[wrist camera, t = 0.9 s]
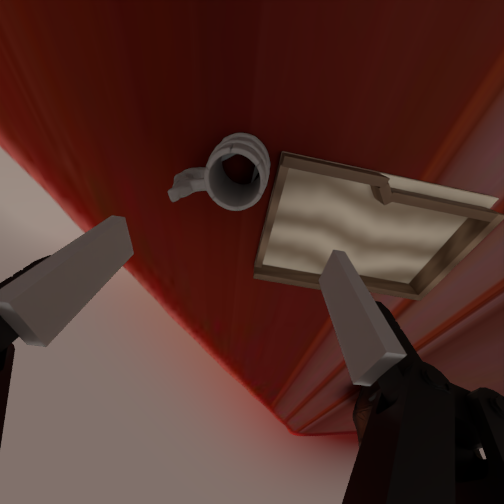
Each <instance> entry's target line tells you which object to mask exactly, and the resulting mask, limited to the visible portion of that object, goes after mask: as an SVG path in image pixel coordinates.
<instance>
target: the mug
mask: <svg viewBox="0 0 504 504" xmlns="http://www.w3.org/2000/svg"><path fill="white" fill-rule="evenodd" d="M235 154H241V155H243V156H245V157H247V158H249V159H250V160H251V161H252V162H253V163H254V164H255V169H254V173H253V177H252V181H251V183H249V184H238V183H235V182H233V181H232V180H231V179H229V177H228V176H226V173H225V172H224V169H223V166H222V161H224V160H226V159H228V158H230V157H231V156H233V155H235ZM258 172H259V175H260V176H259V177H258V178H257V179H256V180H255V181H254V179H255V177H256V175H257V174H258ZM269 174H270V159H269V154H268V152H267V149H266V148H265V146H264V144H263V143H262V142H261V141H260V140H259V139H258V138H257V137H255V136H253V135H251V134H247V133H235V134H231V135H229V136H228V137H225V138H224V139H223V140H222V141H221V143H220V144H218V145H217V146H216V147H215V149H214V151H213V152H212V154H211V155H210V157H209V160H208V162H207V164H206V167H198V168H189V169H186V170H184V171H183V172H182V173H179V174H177V175H176V176H175V177H174V184H173V188H171V189H169V190H168V195H169V197H170V200H171V201H172V202H175V201H177V200H179V198H182V197H186V196H188V195H190V194H191V193H193V192H196V191H206V190H207V192H208V194H209V195H210V197H211V198H212V200H213V201H215V202H216V203H217V204H218V205H220V206H221V207H223V208H225V209H228V210H232V211H238V210H239V211H241V210H244V209H247V208H249V207H251V206H253V205H254V204H256V203H257V202H258V201H259V199H260V198H261V196H262V194H263V192H264V190H265V188H266V185H267V182H268V178H269ZM253 181H254V182H253Z"/></svg>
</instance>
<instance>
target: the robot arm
mask: <svg viewBox="0 0 504 504" xmlns="http://www.w3.org/2000/svg"><path fill="white" fill-rule="evenodd" d="M133 254H134V252H133V248H132V244H131V240H130V236H129V232H128V228H127V224H126V220H125V217H119V216H111V217H109V218H107V219H106V220H104V221H103V222H101V223H100V224H98V225H97V226H95V227H94V228H92V229H91V230H89V231H88V232H86V233H85V234H83V235H82V236H80V237H79V238H77V239H76V240H74V241H73V242H71V243H70V244H68V245H67V246H65V247H64V248H62V249H60V250H59V251H57V252H56V253H54V254H53V255H49V256H47V257H44V258H41V259H39V260H37V261H34V262H33V263H31V264H30V265H28V266H26V267H25V268H23V270H20V271H19V272H17V273H15V274H14V275H13V277H9V278H8V279H6V280H4V281H3V282H1V283H0V447H1V440H2V433H3V427H4V420H5V413H6V406H7V399H8V393H9V386H10V379H11V372H12V365H13V359H14V352H15V348H14V345H13V344H12V342H13V341H14V340H16V339H17V338H18V337H20V338H21V339H22V340H23V341H24V342H25V343H26V344H27V345H35V346H43V347H46V346H47V345H48V344H49V343H50V342H51V341H52V340H53V339H54V338H55V337H56V336H57V335H58V334H59V333H60V332H61V331H62V330H63V328H64V327H65V326H66V325H67V324H68V323H69V322H70V321H71V320H72V319H73V318H74V317H75V316H76V315H77V314H78V313H79V311H80V310H81V309H82V308H83V307H84V306H85V305H86V304H87V303H88V302H89V301H90V300H91V299H92V298H93V296H94V295H95V294H96V293H97V292H98V291H99V290H100V289H101V288H102V287H103V286H104V285H105V284H106V283H107V282H108V281H109V280H110V279H111V277H112V276H113V275H114V274H115V273H116V272H117V271H118V270H119V269H120V268H121V267H122V266H123V265H124V264H125V263H126V262H127V260H128V259H129V258H130V257H131V256H132V255H133ZM319 284H320V287H321V290H322V293H323V296H324V299H325V302H326V305H327V308H328V311H329V314H330V317H331V320H332V323H333V326H334V329H335V332H336V335H337V338H338V341H339V344H340V347H341V350H342V352H343V355H344V358H345V361H346V364H347V367H348V370H349V373H350V376H351V379H352V382H353V384H355V385H363V386H371V385H372V384H373V383H374V382H375V381H378V384H379V386H380V389H379V390H378V391H376V392H375V393H374V394H373V395H371V396H370V398H369V399H368V400H369V401H372V400H374V399H375V400H374V403H373V407H372V410H371V413H370V416H369V419H368V422H367V426H366V429H365V432H364V435H363V438H362V442H361V445H360V448H359V451H358V454H357V457H356V461H355V464H354V467H353V470H352V473H351V476H350V480H349V483H348V486H347V489H346V492H345V496H344V499H343V502H342V504H504V396H502V395H500V394H499V393H497V392H495V391H494V390H491V389H488V388H478V389H476V390H474V391H472V392H471V391H468V390H466V389H464V388H461V387H459V386H457V385H454V384H452V383H450V382H449V380H448V379H447V378H446V377H445V376H444V375H443V374H442V373H441V372H440V371H439V370H438V369H436V368H435V367H434V366H432V365H430V364H428V363H426V362H423V361H422V360H421V359H420V357H419V355H418V354H417V352H416V351H415V349H414V348H413V346H412V345H411V343H410V342H409V340H408V338H407V337H406V335H405V334H404V332H403V331H402V329H400V326H399V325H398V323H397V322H396V321H395V318H394V317H393V315H392V314H391V312H390V311H389V310H388V309H387V308H386V307H385V306H384V305H383V304H382V303H381V302H378V301H374V299H373V297H372V296H371V294H370V293H369V291H368V289H367V288H366V286H365V284H364V283H363V281H362V279H361V278H360V276H359V274H358V273H357V271H356V269H355V268H354V266H353V264H352V263H351V261H350V259H349V258H348V256H347V254H346V253H345V251H339V250H333V251H332V253H331V255H330V257H329V259H328V262H327V264H326V266H325V268H324V270H323V272H322V274H321V276H320V278H319ZM480 448H483V450H484V453H485V456H486V459H483V458H482V456H481V454H480V451H479V449H480Z"/></svg>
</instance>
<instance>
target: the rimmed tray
mask: <svg viewBox="0 0 504 504" xmlns="http://www.w3.org/2000/svg"><path fill="white" fill-rule="evenodd" d="M498 199H499V198H496V197H493V196H489V195H484V194H480V193H475V192H470V191H466V190H461V189H456V188H452V187H447V186H443V185H438V184H433V183H429V182H424V181H419V180H415V179H410V178H405V177H401V176H396V175H391V174H387V173H382V172H377V171H373V170H368V169H363V168H359V167H354V166H349V165H345V164H340V163H335V162H331V161H326V160H321V159H317V158H312V157H307V156H303V155H298V154H293V153H289V152H284V151H282V153H281V157H280V161H279V165H278V169H277V174H276V178H275V182H274V186H273V190H272V194H271V198H270V202H269V206H268V210H267V214H266V219H265V223H264V227H263V231H262V235H261V239H260V243H259V247H258V251H257V255H256V259H255V264H254V277H253V278H254V279H260V280H266V281H272V282H278V283H284V284H290V285H296V286H302V287H307V288H313V289H319V290H321V287H320V284H319V278H320V276H321V274H322V272H323V270H324V268H325V266H326V264H327V262H328V259H329V257H330V255H331V253H332V251H333V250H339V251H345V253H346V254H347V256H348V258H349V259H350V261H351V263H352V264H353V266H354V268H355V269H356V271H357V273H358V274H359V276H360V278H361V279H362V281H363V283H364V284H365V286H366V288H367V289H368V291H369V292H373V293H379V294H385V295H391V296H397V297H402V298H408V299H414V300H421V299H422V298H423V297H424V296H426V295H427V294H428V293H429V292H430V291H431V290H432V289H433V288H434V287H435V286H436V285H437V284H438V283H439V282H440V281H441V280H442V279H443V278H444V277H445V276H446V275H447V274H448V273H449V272H450V271H451V270H452V269H453V268H454V267H455V266H456V265H457V264H458V263H459V262H460V261H461V260H462V259H463V258H464V257H465V256H466V255H467V254H468V253H469V252H470V251H471V250H472V249H473V248H475V247H476V246H477V245H478V244H479V243H480V242H481V241H482V240H483V239H484V238H485V237H486V236H487V235H488V234H489V233H490V232H491V231H492V230H493V229H494V228H495V227H496V226H497V225H498V224H499V223H500V222H501V221H502V220H503V219H504V215H503V214H501V213H498V212H496V211H493V210H491V209H489V208H490V207H491V206H492V205H493V204H494V203H495V202H496V201H497V200H498Z"/></svg>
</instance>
